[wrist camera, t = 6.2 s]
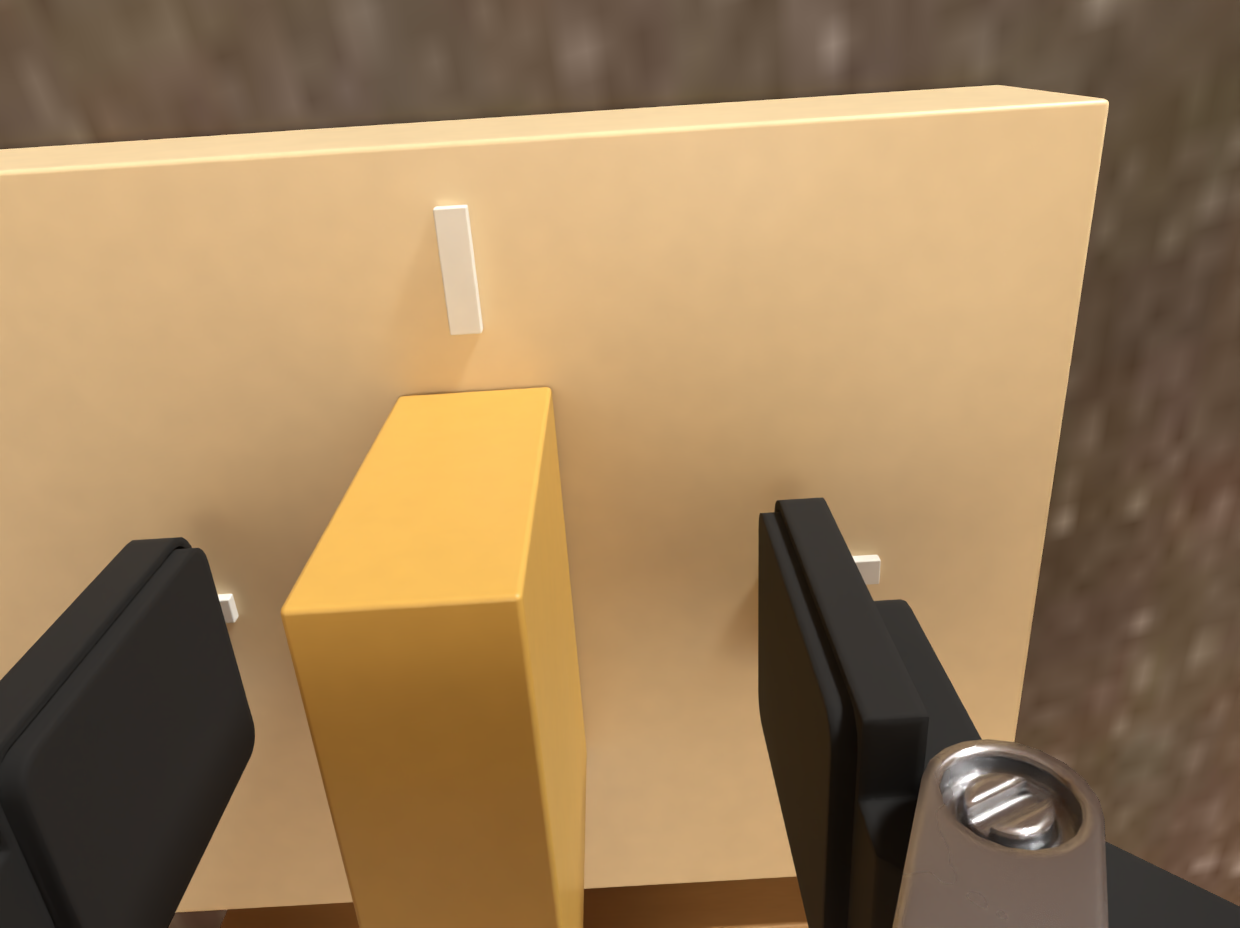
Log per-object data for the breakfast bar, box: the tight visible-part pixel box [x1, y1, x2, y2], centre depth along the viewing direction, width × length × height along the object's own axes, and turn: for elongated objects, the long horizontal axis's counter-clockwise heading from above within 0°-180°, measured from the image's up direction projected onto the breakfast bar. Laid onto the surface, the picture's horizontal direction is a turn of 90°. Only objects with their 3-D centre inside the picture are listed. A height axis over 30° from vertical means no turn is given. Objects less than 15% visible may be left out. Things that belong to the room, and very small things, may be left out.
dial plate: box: [0, 85, 1109, 912], centre depth 13 cm, size 14×11×3 cm
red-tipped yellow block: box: [280, 387, 587, 928], centre depth 10 cm, size 6×2×5 cm, turn 3°
